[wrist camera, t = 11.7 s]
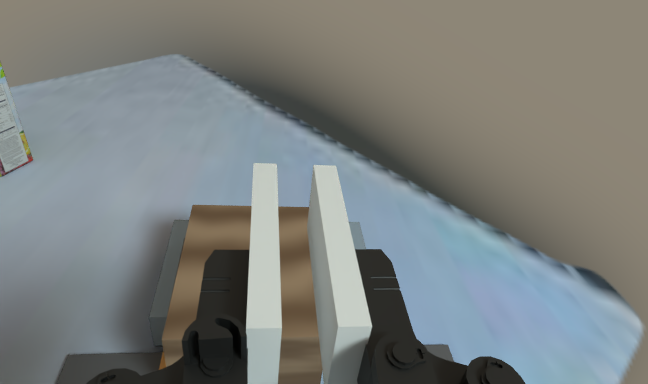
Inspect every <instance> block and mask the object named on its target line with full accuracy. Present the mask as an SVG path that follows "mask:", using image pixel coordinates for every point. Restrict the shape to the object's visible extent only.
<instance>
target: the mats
mask: <svg viewBox="0 0 648 384" xmlns="http://www.w3.org/2000/svg"><path fill="white" fill-rule="evenodd" d="M424 346H425V347H426V349H427V351H428V352H430V353H432V354H433V355H435V356H437V357H440V358H442V359H445V360H449V361H452V362H454V360H453V358H452V355H451V352H450V350H449V347H448V345H424ZM165 367H166V362H165V357H164V352H156V353H119V354H81V355H68V357H67V359H66V362H65V364H64V367H63V369H62V372H61V374H60V377H59V379H58V381H57V384H86V383H87V382H88V381H90V380H91V379H93V378H94V377H95V376H97V375H98V374H100V373H102V372H105V371H108V370H111V369H118V368H127V369H130V370H133V371H136V372H137V373H138V374H139V375H140V376H142V375H145V374H148V373H151V372H154V371H157V370H160V369H163V368H165Z"/></svg>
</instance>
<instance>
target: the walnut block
mask: <svg viewBox="0 0 648 384" xmlns="http://www.w3.org/2000/svg"><path fill="white" fill-rule="evenodd" d="M251 210H252V206H222V205H193V206H192V210H191V215H190V219H189V223H188V228H187V232H186V236H185V241H184V245H183V249H182V254H181V258H180V262H179V267H178V271H177V275H176V280H175V284H174V288H173V293H172V297H171V301H170V306H169V310H168V314H167V319H166V323H165V327H164V332H163V336H162V345H163V351H164V357H165V362H166V367H167V366H170V365H172V364H173V363H175V362H176V361H178V360H179V359H180V358H181V357H182V356H183V349H182V338H183V335H184V332H185V330H186V329H187V328H188V327H189V326H190V324H191V323H192V322H193V321H195V320H196V316H197V309H198V303H199V297H200V292H201V284H202V279H203V271H204V265H205V262H206V260H207V259H208V258H209V256H210V255H211V254H212V252H213V251H214V250H250V232H251ZM308 214H309V207H278V217H279V250H280V282H281V315H282V333H281V347H280V360H279V373H278V384H320V382H321V375H322V361H321V352H320V342H319V333H318V324H317V315H316V305H315V296H314V287H313V278H312V269H311V259H310V250H309V241H308V232H307V223H308Z"/></svg>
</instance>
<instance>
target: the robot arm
mask: <svg viewBox="0 0 648 384" xmlns="http://www.w3.org/2000/svg"><path fill="white" fill-rule="evenodd" d="M307 232H308V241H309V250H310V259H311V269H312V278H313V287H314V296H315V305H316V315H317V324H318V333H319V342H320V352H321V361H322V370H323V379H324V384H525V382H524V381H523V379H522V378H521V376H520V375H519V374H518V373H517V372H516V371H515V370H514V369H513V367H511V366H510V365H508V364H507V363H505V362H504V361H502V360H499V359H496V358H493V357H478V358H476V359H474V360H472V361H471V362H470V364H469V365H468V366H467V365H463V364H459V363H456V362H452V361H449V360H445V359H442V358H440V357H437V356H435V355H433V354H432V353H430V352H428V351H427V349H426V347H425V346H424V345H423V344H422V343H421V342H420V341H419V340H417V339H416V337H415V334H414V332H413V329H412V326H411V323H410V319H409V316H408V313H407V310H406V307H405V303H404V300H403V297H402V294H401V291H400V290H399V288H400V287H399V284H398V281H397V279H396V274H395V271H394V268H393V265H392V262H391V261H390V259H389V258H388V257H387V256H386V255H385V254H384V252H383V251H382V250H381V249H355V248H354V244H353V239H352V235H351V230H350V226H349V222H348V217H347V213H346V208H345V204H344V199H343V195H342V191H341V186H340V182H339V177H338V173H337V168H336V166H324V165H314V166H313V175H312V185H311V195H310V204H309V214H308V223H307ZM281 333H282V315H281V282H280V250H279V217H278V185H277V164H263V163H254V167H253V189H252V210H251V232H250V250H214V251H213V252H212V254H211V255H210V256H209V258H208V259H207V260H206V262H205V265H204V271H203V279H202V284H201V292H200V297H199V303H198V309H197V316H196V320H195V321H193V322H192V323H191V324H190V326H189V327H188V328H187V329H186V330H185V332H184V335H183V338H182V349H183V356H182V357H181V358H180V359H179V360H178V361H176V362H175V363H173V364H172V365H170V366H167V367H165V368H163V369H160V370H157V371H154V372H151V373H148V374H145V375H142V376H140V375H139V374H138V373H137V372H136V371H133V370H130V369H127V368H118V369H111V370H108V371H105V372H102V373H100V374H98V375H97V376H95V377H94V378H93V379H91V380H90V381H88V382H87V383H86V384H278V373H279V360H280V347H281Z"/></svg>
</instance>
